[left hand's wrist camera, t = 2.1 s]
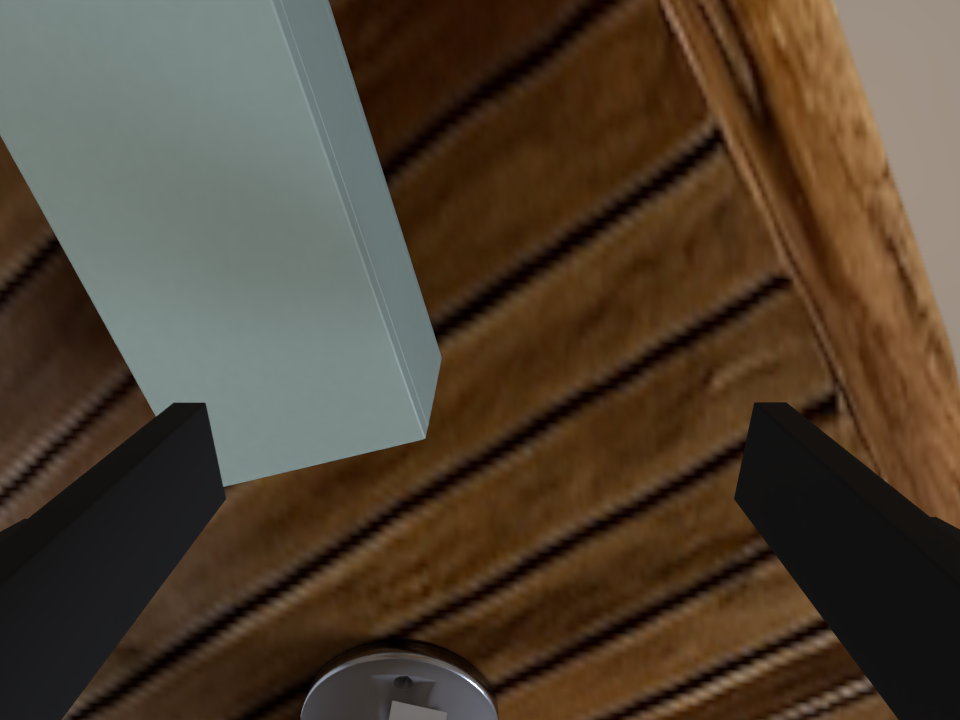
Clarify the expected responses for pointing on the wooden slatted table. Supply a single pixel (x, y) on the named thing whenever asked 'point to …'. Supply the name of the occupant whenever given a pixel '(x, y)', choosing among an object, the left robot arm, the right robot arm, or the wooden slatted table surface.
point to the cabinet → (225, 217)
